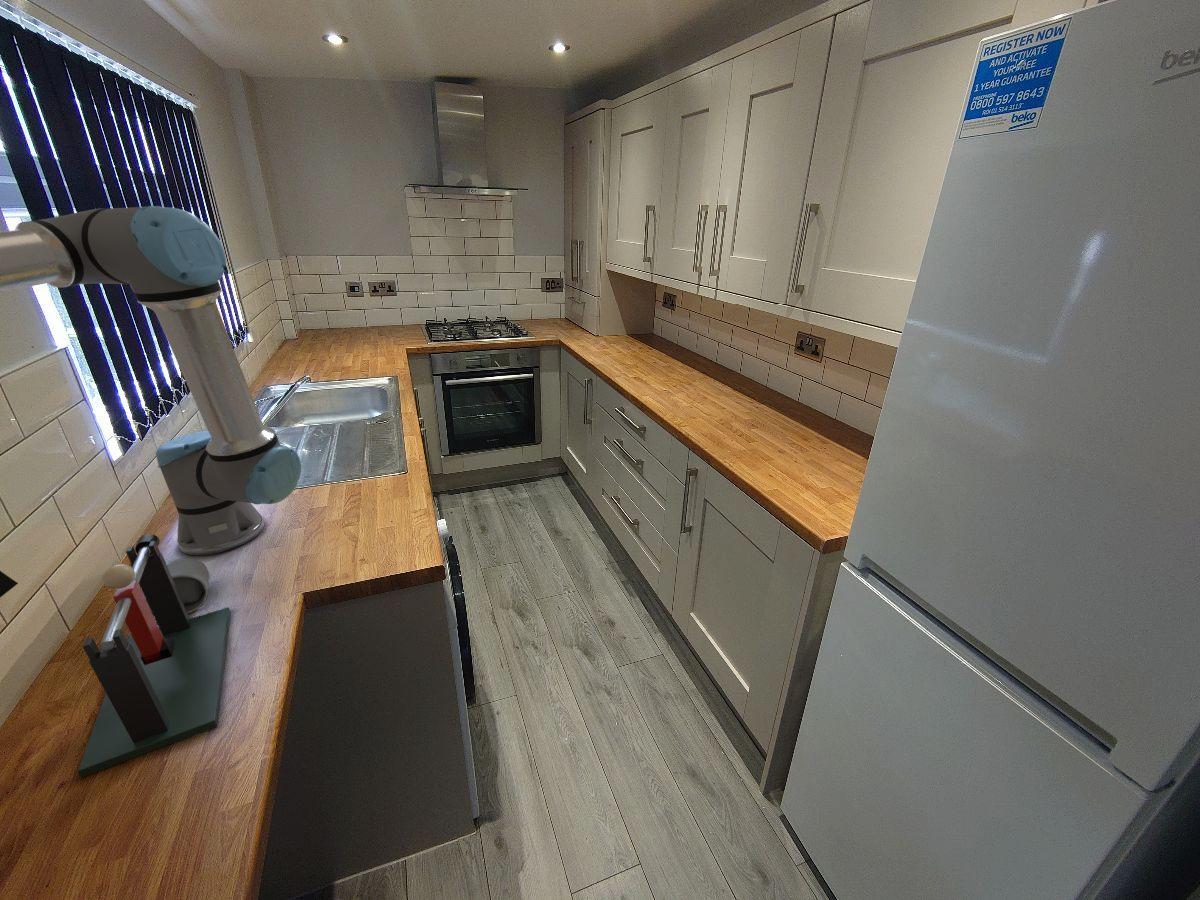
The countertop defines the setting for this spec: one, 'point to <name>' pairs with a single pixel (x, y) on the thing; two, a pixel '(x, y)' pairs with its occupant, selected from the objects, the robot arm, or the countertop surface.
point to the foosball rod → (135, 607)
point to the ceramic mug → (190, 582)
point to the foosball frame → (157, 677)
